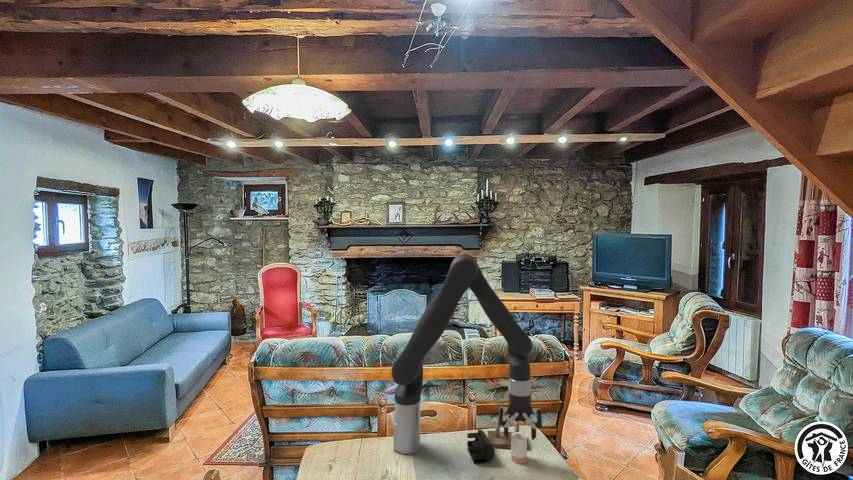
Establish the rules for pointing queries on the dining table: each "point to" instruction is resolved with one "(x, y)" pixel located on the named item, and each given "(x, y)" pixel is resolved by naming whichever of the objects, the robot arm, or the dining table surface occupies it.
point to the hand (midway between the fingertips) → (519, 437)
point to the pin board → (501, 437)
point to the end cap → (480, 448)
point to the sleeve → (519, 448)
